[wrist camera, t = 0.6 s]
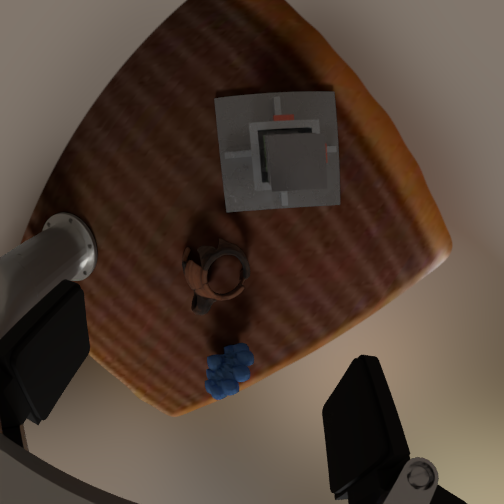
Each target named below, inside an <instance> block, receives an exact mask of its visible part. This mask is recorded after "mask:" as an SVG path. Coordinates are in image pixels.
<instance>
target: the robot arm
mask: <svg viewBox="0 0 504 504" xmlns="http://www.w3.org/2000/svg"><path fill="white" fill-rule="evenodd" d="M96 262H97V247H96V242H95V240H94V237H93V235H92V233H91V231H90V229H89V228H88V226H87V225H86V224H85V223H84V222H83V221H82V220H81V219H80V218H78V217H77V216H75V215H73V214H71V213H66V212H62V213H58V214H55V215H53V216H52V217H50V218H49V219H48V220H47V221H46V223H45V225H44V227H43V230H42V232H41V233H39V234H37V235H36V236H34V237H32V238H31V239H29V240H27V241H26V242H24V243H22V244H21V245H19V246H18V247H16V248H14V249H13V250H11V251H10V252H8V253H7V254H5V255H4V256H2V257H0V504H138V503H135V502H132V501H129V500H126V499H123V498H121V497H118V496H116V495H113V494H111V493H108V492H106V491H103V490H101V489H98V488H96V487H94V486H92V485H89V484H87V483H85V482H83V481H81V480H79V479H77V478H75V477H73V476H71V475H69V474H67V473H65V472H63V471H61V470H59V469H57V468H55V467H53V466H52V465H50V464H48V463H47V462H45V461H43V460H41V459H40V458H38V457H37V456H35V455H33V454H32V453H30V452H29V449H28V445H27V440H26V435H25V430H24V425H23V423H24V421H25V420H26V418H27V419H29V420H31V421H32V422H34V423H36V424H37V425H39V423H40V422H41V420H45V419H46V418H47V417H48V416H49V414H50V412H51V411H52V409H53V407H54V406H55V404H56V402H57V401H58V399H59V398H60V396H61V395H62V393H63V392H64V390H65V388H66V387H67V385H68V384H69V382H70V381H71V379H72V378H73V376H74V375H75V373H76V372H77V370H78V369H79V367H80V366H81V364H82V363H83V361H84V360H85V359H86V357H87V356H88V354H89V351H90V343H89V336H88V329H87V320H86V311H85V301H84V292H83V290H82V289H81V287H80V285H79V284H77V283H75V282H72V281H79V280H83V279H85V278H86V277H87V276H89V275H90V274H91V273H92V271H93V270H94V268H95V266H96ZM70 280H71V281H70ZM322 416H323V425H324V433H325V441H326V451H327V461H328V471H329V482H330V490H331V492H332V493H334V494H335V500H340V499H341V500H342V499H348V503H349V504H467V503H466V502H465V501H463V500H461V499H460V498H458V497H457V496H455V495H453V494H451V493H450V492H448V491H447V490H445V489H444V488H442V487H441V486H439V485H438V479H439V478H438V472H437V470H436V467H435V466H434V465H433V464H432V463H431V462H430V461H429V460H427V459H425V458H420V457H416V458H412V459H411V460H410V456H409V455H410V451H409V448H408V445H407V441H406V438H405V435H404V431H403V428H402V425H401V422H400V419H399V416H398V413H397V410H396V407H395V404H394V401H393V398H392V395H391V392H390V390H389V387H388V384H387V381H386V378H385V376H384V373H383V370H382V368H381V365H380V362H379V360H378V358H377V357H375V356H368V355H360V356H359V357H358V358H355V359H354V360H353V361H352V363H351V364H350V366H349V368H348V369H347V371H346V372H345V374H344V376H343V377H342V379H341V380H340V382H339V383H338V385H337V386H336V388H335V390H334V391H333V393H332V394H331V396H330V397H329V399H328V400H327V402H326V403H325V404H324V406H323V410H322Z"/></svg>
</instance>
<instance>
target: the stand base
mask: <svg viewBox="0 0 504 504" xmlns="http://www.w3.org/2000/svg"><path fill="white" fill-rule="evenodd" d="M214 99H215V110H216V120H217V130H218V140H219V150H220V159H221V168H222V177H223V186H224V195H225V204H226V212H238V211H250V210H263V209H276V208H291V207H307V206H325V205H340V174H339V149H338V132H337V118H336V106H335V95H334V92H320V91H314V92H278V93H262V94H249V95H239V96H229V97H221V98H214ZM291 133H316V134H323V133H325V146H326V165H327V189H309V190H291V191H276V192H272V189H271V185H269V180H268V172H266V166H265V154H264V142H263V135H273V134H291Z"/></svg>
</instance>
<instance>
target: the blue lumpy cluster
mask: <svg viewBox="0 0 504 504" xmlns="http://www.w3.org/2000/svg"><path fill="white" fill-rule="evenodd" d="M207 363H208V367H209V369H207V370H206V373H207V378H208V379H209V380H207V381H205V388H206V390H207V392H208V393H210V394H211V395H212V397H213V398H214V399H216V400H220V399H223V398H225V397H227V395H234V394H236V393H238V392H239V384H238V382H243V381H246V380H248V379H249V378H250V370H249V368H248V367H247V366H250V365H252V364H253V363H254V356H253V354H252V352H250V351H249V347H248V346H247V344H244V343H238V344H235V345H229V346H226V347H224V354H222V355H211V356H209V357H207ZM237 381H238V382H237Z"/></svg>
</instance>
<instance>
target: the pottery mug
mask: <svg viewBox="0 0 504 504" xmlns="http://www.w3.org/2000/svg"><path fill="white" fill-rule="evenodd" d="M190 251H191V249H189V247H187V248H186V249H185V251H184V254H183V260H182V266H183V271H184V275H185V278H186V280H187V282H188V284H189V286H190V287H191V289H192V290H194V296H193V300H192V311H193V312H194V313H195V314H196V315H204V314H206V313H208V311H209V310H210V308H211V305H212V304H213V303H214V302H215V301H217V300H229V299H232V298H234V297H236V296H237V295H239V294H240V293H241V292H242V291H243V290H244V288H245V287H244V286H243V283H244V281H245V280H246V279H247V278H248V277H249V276H250V267H249V263H248V260H247V258H246V256H245V254H244V252H243V251H242V249H239V247H238V246H237V245H234V244H232V243H229V242H227V241H225V240H223V239H220V238H219V244H218V248H217V249H216V248H214V247H212V246H201V247H199V248H198V249H197V251H198V253H199V254H200V255H199V256H200V260H201V266H200V265H198V264H196V263H195V262H194V261H193V260H189V261H188V262H187V263H186V260H187V258H188V255H189V253H190ZM223 255H234V256H236V257H237V258H238V259H239V260H240V261H241V263H242V266H243V270H241V273H240V277H239V280H240V283H239V284H238V286H237V287H236V288H235V289H234V290H232V291H231V292H228V293H225V294H218V293H215V292H214V291H212V290H211V288H210V287H209V285H208V282H207V274H208V269H209V267H210V265H211V264H212V263H213V262H214V261H215V260H216V259H217V258H219V257H220V256H223Z"/></svg>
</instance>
